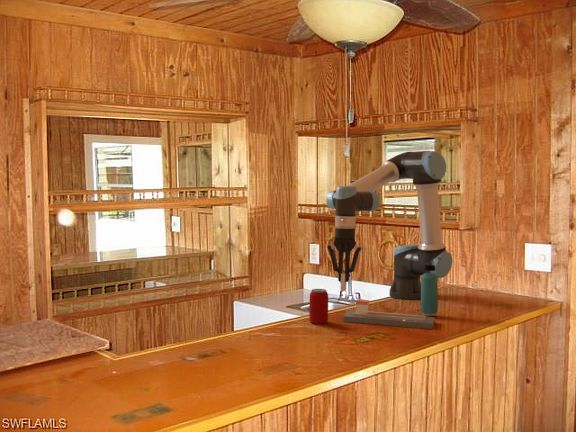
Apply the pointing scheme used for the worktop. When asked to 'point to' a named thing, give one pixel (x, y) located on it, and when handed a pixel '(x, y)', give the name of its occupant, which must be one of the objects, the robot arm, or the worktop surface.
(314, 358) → the worktop surface
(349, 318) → the board
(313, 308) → the beverage can
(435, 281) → the beverage bottle
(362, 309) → the fader tab
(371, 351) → the worktop surface
